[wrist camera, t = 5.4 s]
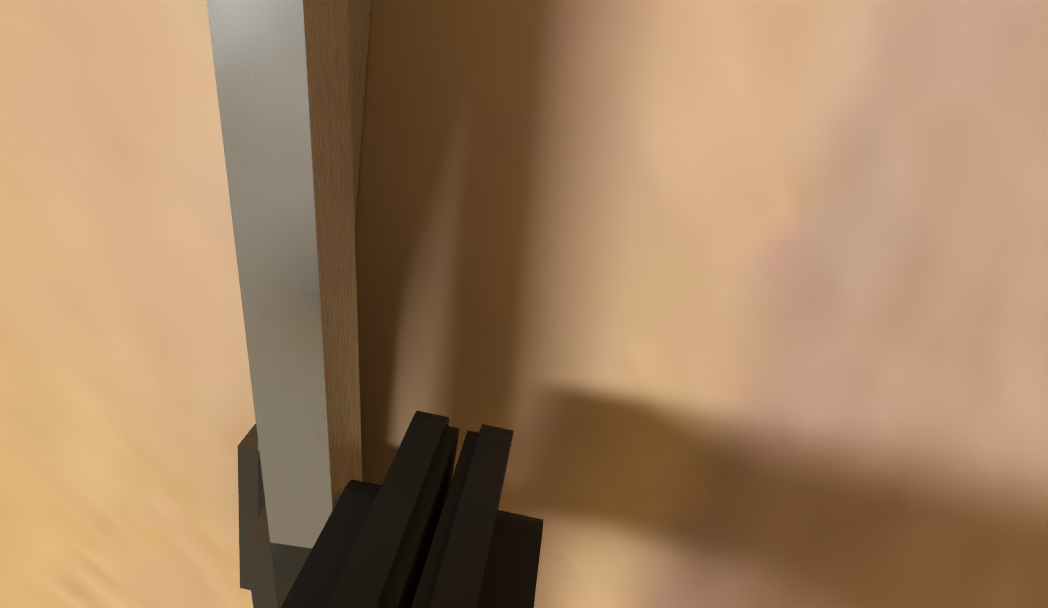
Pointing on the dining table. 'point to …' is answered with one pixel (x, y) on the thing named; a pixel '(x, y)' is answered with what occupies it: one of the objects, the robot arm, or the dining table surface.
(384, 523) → the robot arm
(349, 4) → the tongs fixed arm
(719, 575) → the dining table surface
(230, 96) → the tongs hinged arm
